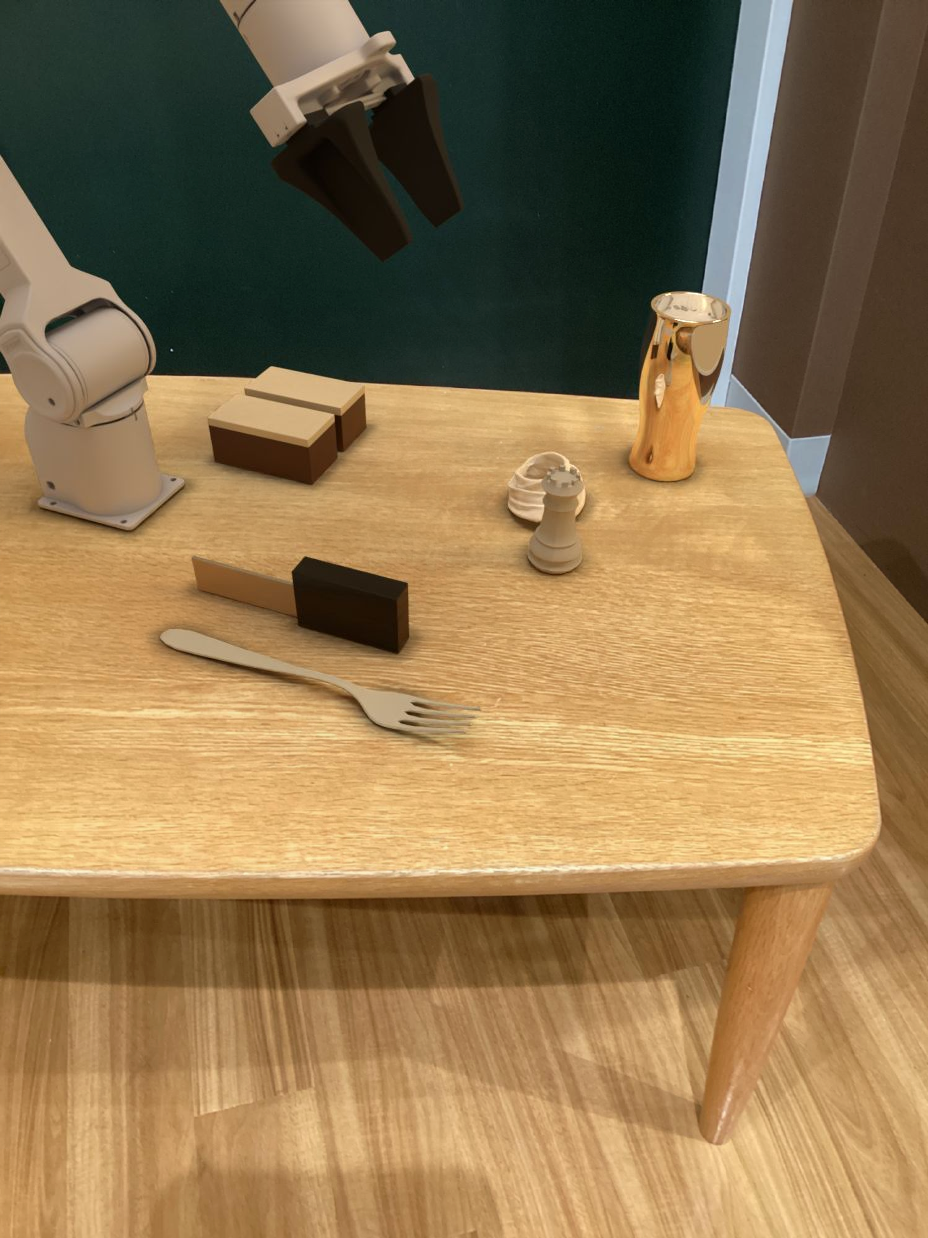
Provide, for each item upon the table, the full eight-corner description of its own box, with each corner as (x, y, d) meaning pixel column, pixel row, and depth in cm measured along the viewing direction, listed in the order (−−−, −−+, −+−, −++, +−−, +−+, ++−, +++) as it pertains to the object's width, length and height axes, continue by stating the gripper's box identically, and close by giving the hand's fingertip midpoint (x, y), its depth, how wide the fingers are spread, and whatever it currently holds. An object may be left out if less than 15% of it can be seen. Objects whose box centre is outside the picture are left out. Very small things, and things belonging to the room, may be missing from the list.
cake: (214, 461, 84) (206, 417, 81) (243, 436, 88) (236, 392, 85) (312, 484, 81) (307, 439, 79) (337, 457, 85) (334, 413, 82)
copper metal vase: (710, 459, 86) (746, 302, 77) (682, 492, 82) (716, 330, 72) (642, 438, 89) (668, 283, 79) (611, 469, 85) (634, 309, 75)
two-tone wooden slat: (409, 637, 66) (408, 582, 63) (398, 654, 65) (396, 599, 62) (206, 580, 71) (195, 527, 68) (191, 596, 69) (179, 541, 66)
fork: (176, 621, 67) (171, 602, 66) (484, 722, 60) (485, 703, 59) (148, 648, 65) (142, 629, 64) (464, 756, 58) (465, 737, 57)
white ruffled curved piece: (569, 546, 77) (580, 501, 73) (492, 525, 78) (499, 479, 74) (590, 492, 82) (600, 447, 79) (518, 472, 83) (525, 427, 80)
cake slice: (249, 430, 88) (243, 387, 86) (276, 408, 92) (271, 365, 89) (343, 451, 86) (340, 407, 83) (366, 427, 90) (364, 384, 87)
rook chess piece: (579, 580, 72) (590, 493, 67) (522, 572, 73) (529, 485, 67) (584, 547, 75) (596, 462, 70) (530, 539, 76) (538, 454, 71)
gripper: (257, -53, 41) (426, 228, 45) (394, -59, 52) (521, 168, 56) (166, 50, 45) (330, 298, 49) (311, 24, 56) (435, 230, 60)
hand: (425, 234), depth 53 cm, fingers open, 7 cm apart
